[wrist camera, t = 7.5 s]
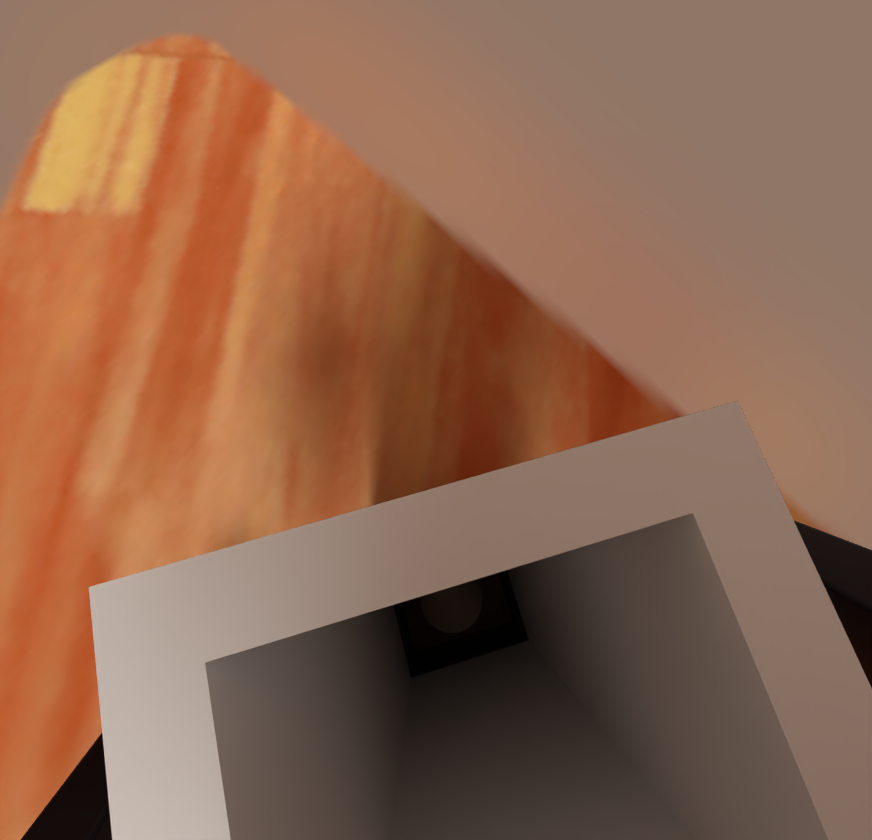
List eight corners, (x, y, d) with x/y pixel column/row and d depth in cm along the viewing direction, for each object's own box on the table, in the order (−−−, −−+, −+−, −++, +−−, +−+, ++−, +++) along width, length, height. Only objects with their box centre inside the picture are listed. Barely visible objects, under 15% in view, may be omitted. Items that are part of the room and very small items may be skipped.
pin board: (587, 723, 15) (642, 793, 11) (208, 938, 14) (120, 1105, 10) (476, 492, 17) (489, 483, 13) (131, 657, 15) (30, 703, 12)
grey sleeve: (537, 635, 15) (1146, 1276, 2) (399, 680, 15) (197, 1750, 2) (494, 496, 16) (737, 399, 3) (364, 534, 16) (88, 586, 3)
